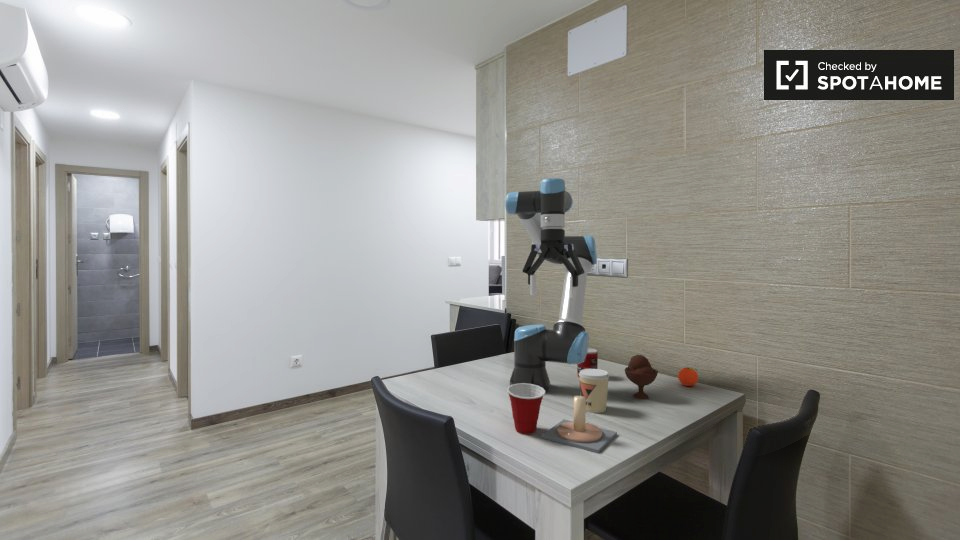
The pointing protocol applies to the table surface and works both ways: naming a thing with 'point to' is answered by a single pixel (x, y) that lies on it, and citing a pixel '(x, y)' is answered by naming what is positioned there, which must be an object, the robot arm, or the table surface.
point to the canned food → (589, 361)
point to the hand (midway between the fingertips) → (552, 296)
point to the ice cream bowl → (640, 374)
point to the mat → (592, 446)
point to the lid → (579, 425)
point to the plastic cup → (525, 406)
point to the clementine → (688, 376)
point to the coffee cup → (594, 389)
